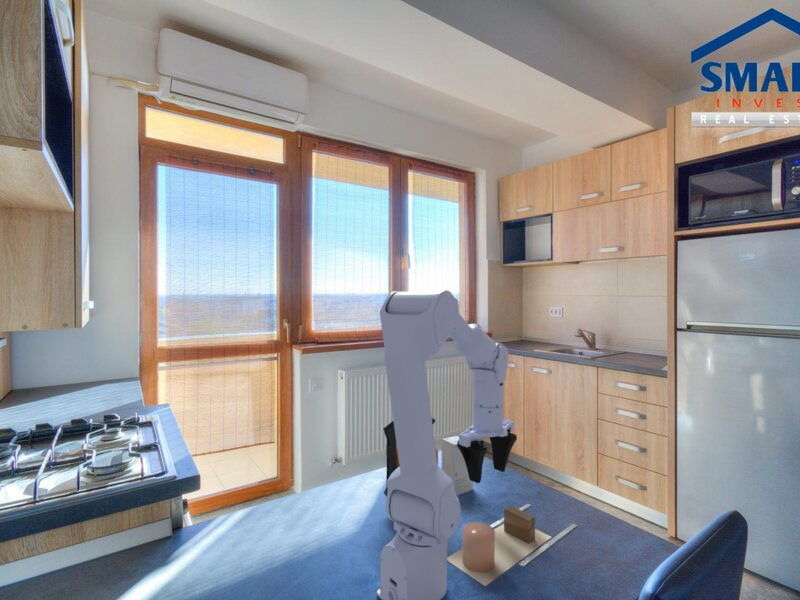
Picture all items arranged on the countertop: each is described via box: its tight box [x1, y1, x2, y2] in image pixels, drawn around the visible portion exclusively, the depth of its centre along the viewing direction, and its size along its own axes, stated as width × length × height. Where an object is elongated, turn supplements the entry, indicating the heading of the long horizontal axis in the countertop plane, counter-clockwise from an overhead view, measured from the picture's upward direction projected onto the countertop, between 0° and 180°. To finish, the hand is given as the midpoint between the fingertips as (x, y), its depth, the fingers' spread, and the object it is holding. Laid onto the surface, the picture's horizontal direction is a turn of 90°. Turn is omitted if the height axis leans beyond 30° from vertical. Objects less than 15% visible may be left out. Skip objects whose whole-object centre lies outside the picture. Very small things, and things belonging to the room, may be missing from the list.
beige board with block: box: [447, 505, 553, 587], centre depth 67 cm, size 19×8×5 cm, turn 130°
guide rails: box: [489, 503, 578, 568], centre depth 72 cm, size 18×10×1 cm, turn 130°
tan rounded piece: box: [462, 521, 495, 573], centre depth 63 cm, size 5×5×5 cm
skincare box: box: [441, 435, 474, 496], centre depth 88 cm, size 6×4×12 cm
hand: (487, 475), depth 76 cm, fingers open, 7 cm apart
